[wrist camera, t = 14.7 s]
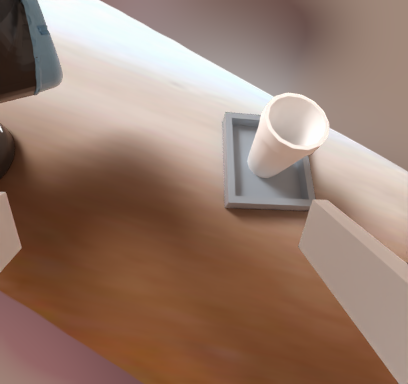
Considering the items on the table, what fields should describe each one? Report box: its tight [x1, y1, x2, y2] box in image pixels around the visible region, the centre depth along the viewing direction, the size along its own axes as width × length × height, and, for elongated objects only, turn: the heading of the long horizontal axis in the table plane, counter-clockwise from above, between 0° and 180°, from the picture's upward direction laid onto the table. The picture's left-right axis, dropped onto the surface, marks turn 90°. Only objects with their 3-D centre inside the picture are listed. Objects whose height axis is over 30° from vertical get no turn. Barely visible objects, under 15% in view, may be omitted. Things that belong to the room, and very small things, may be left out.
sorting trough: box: [222, 112, 316, 211], centre depth 45 cm, size 15×18×3 cm
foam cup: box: [247, 93, 329, 178], centre depth 40 cm, size 10×9×13 cm
